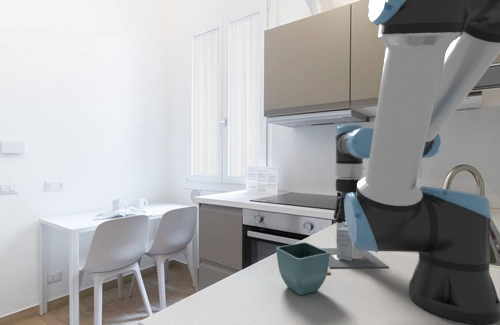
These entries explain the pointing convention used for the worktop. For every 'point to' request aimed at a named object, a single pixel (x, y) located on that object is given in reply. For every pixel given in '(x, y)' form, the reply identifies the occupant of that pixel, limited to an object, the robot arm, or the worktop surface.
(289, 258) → the flower pot
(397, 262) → the worktop surface
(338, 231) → the medicine box
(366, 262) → the mat
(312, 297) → the worktop surface
